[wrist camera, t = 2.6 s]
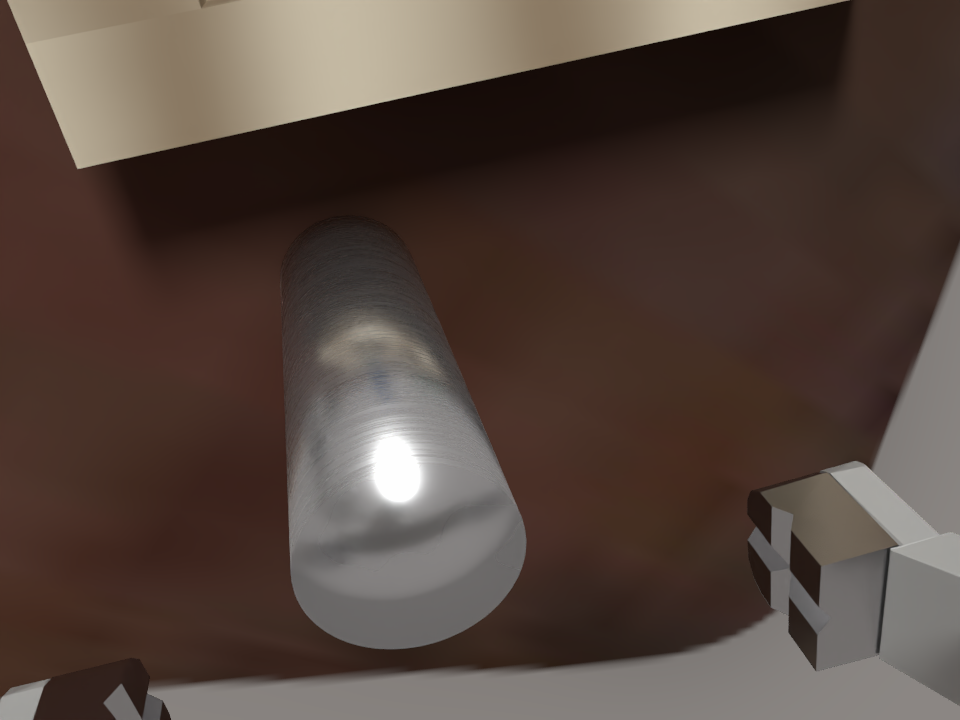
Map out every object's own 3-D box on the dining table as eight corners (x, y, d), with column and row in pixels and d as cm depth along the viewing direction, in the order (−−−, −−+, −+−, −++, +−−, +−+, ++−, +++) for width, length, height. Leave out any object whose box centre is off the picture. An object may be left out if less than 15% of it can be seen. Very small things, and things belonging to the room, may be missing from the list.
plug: (300, 354, 20) (325, 674, 12) (262, 233, 19) (260, 503, 10) (427, 322, 21) (539, 611, 12) (400, 201, 19) (508, 436, 11)
